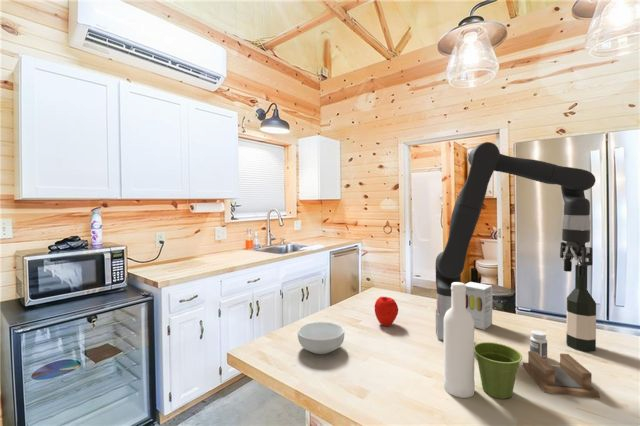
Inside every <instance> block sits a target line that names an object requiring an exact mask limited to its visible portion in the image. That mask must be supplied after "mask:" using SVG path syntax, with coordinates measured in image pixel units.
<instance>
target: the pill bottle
mask: <svg viewBox="0 0 640 426" xmlns="http://www.w3.org/2000/svg"><path fill="white" fill-rule="evenodd" d="M530 335H531V336H530V337H529V351H534V352H537V353H538V354H539V355H540V356H541V357H542V358H543V359H544V360H545V361H547V360H548V340H547V334H546V333H545V332H544V331H540V330H531V333H530Z"/></svg>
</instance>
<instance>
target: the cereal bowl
mask: <svg viewBox="0 0 640 426" xmlns="http://www.w3.org/2000/svg"><path fill="white" fill-rule="evenodd" d="M297 340H298V342H299V344H300V346H301V347H302V348H303V349H305V350H306V351H308V352H311V353H313V354H316V355H326V354H329V353H331V352H334V351H335V350H338V348H340V347H341V345H343V342H344V340H345V329H344V327H343V326H342V325H339V324H336V323H334V322H328V321H316V322H311V323H310V322H309V323H306V324H304V325H302V326H301V327H299V329H297Z"/></svg>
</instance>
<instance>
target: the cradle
mask: <svg viewBox="0 0 640 426" xmlns="http://www.w3.org/2000/svg"><path fill="white" fill-rule="evenodd" d="M527 356H528V357H527V359H528V361H526V362H524V361H522V367H523V368H524V370H525V371H526V372H527V374H528V375H530V377H531V379H533V380H534V382H535V383H536V384H537V386H538V387H539V388H540V389H541V390H542V391H543V393H547V394H549V393H550V394H556V395H557V394H559V395H568V396H580V397H587V398H588V397H590V398H600V397H601V395H600V392H599V391H598V390H597V389H595V388H594V387H593V386H592V372H590V371H589V370H588V369H587V368H586V367H584V366H583V365H582V364H581V363H580V362H578V361H577V360H576V359H575V358H574V357H573V356H571V355H570V354H569V353H560V354H559V364H549V363H548V362H547V360H544V359H543V358H542V357H541V356H540V355H539V354H538V353H537V352H534V351H530V350H528V354H527Z"/></svg>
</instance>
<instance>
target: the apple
mask: <svg viewBox="0 0 640 426" xmlns="http://www.w3.org/2000/svg"><path fill="white" fill-rule="evenodd" d="M374 313H375V316H376V319H377V321H378V322H379V324H380V325H381V326H384V327H390V326H391V325H392V324H393V323H394V322H395V320H396V319H397V317H398V314H399V306H398V304H397V302H396V300H395V299H394V298H391V297H387V296H379V297H378V298H377V299H376V301H375V303H374Z"/></svg>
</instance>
